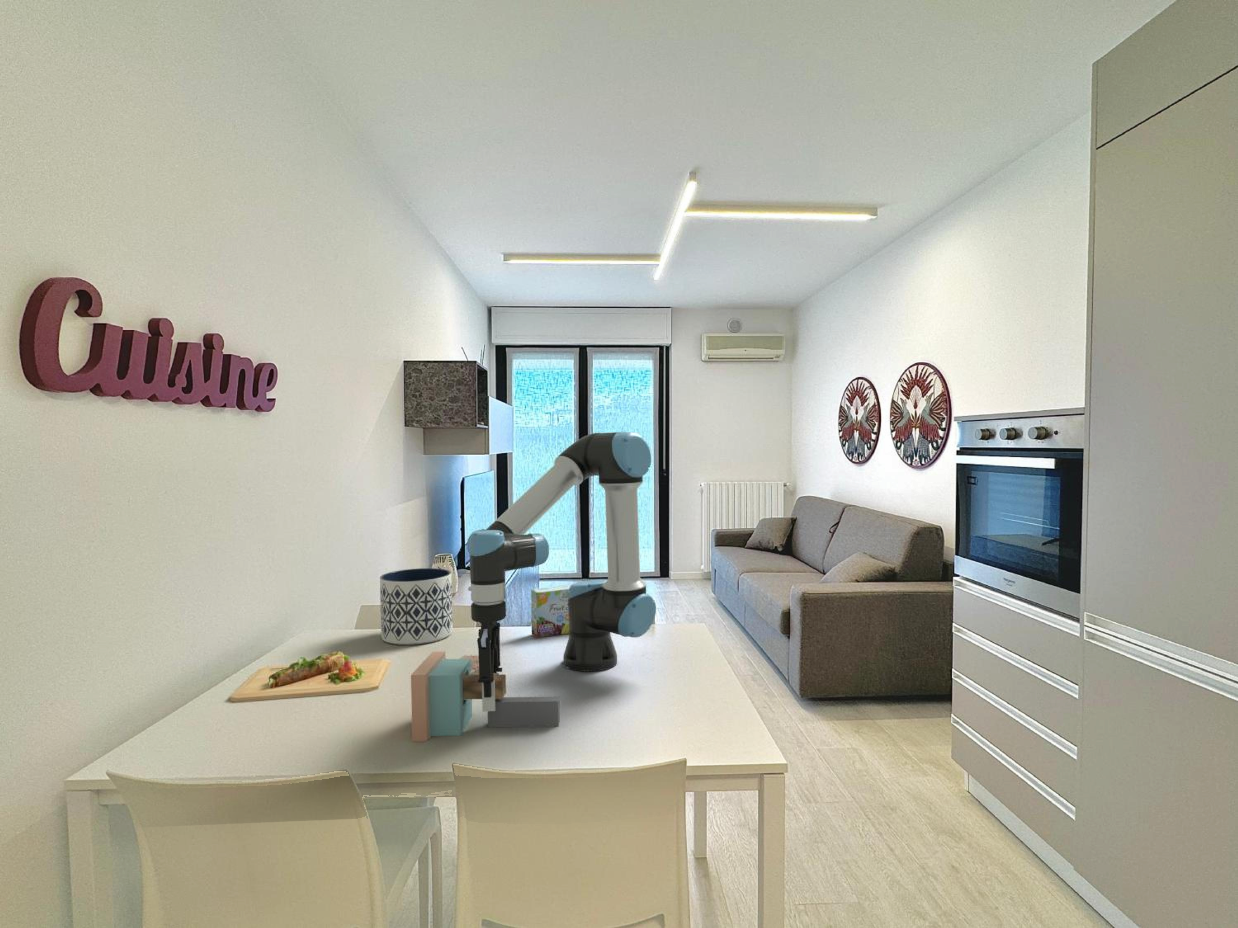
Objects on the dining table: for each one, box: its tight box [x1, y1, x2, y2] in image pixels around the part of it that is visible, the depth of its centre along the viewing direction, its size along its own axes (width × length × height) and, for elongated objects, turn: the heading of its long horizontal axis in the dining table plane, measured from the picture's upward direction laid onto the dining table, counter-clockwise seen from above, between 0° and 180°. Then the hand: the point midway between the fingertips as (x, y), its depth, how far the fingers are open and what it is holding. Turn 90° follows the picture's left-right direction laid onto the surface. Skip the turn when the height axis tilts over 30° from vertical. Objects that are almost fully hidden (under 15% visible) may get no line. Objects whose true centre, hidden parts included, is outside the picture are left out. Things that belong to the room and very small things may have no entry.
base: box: [410, 650, 446, 742], centre depth 148 cm, size 3×16×14 cm, turn 0°
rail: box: [487, 695, 561, 728], centre depth 148 cm, size 16×3×6 cm, turn 90°
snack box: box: [530, 584, 572, 639], centre depth 221 cm, size 21×6×15 cm, turn 117°
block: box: [429, 658, 473, 737], centre depth 148 cm, size 6×11×13 cm, turn 0°
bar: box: [462, 673, 507, 700], centre depth 148 cm, size 13×4×4 cm, turn 90°
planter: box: [379, 567, 454, 646], centre depth 219 cm, size 22×22×20 cm
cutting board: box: [229, 650, 392, 703], centre depth 179 cm, size 35×23×8 cm
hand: (491, 705), depth 148 cm, fingers closed on bar, 4 cm apart
